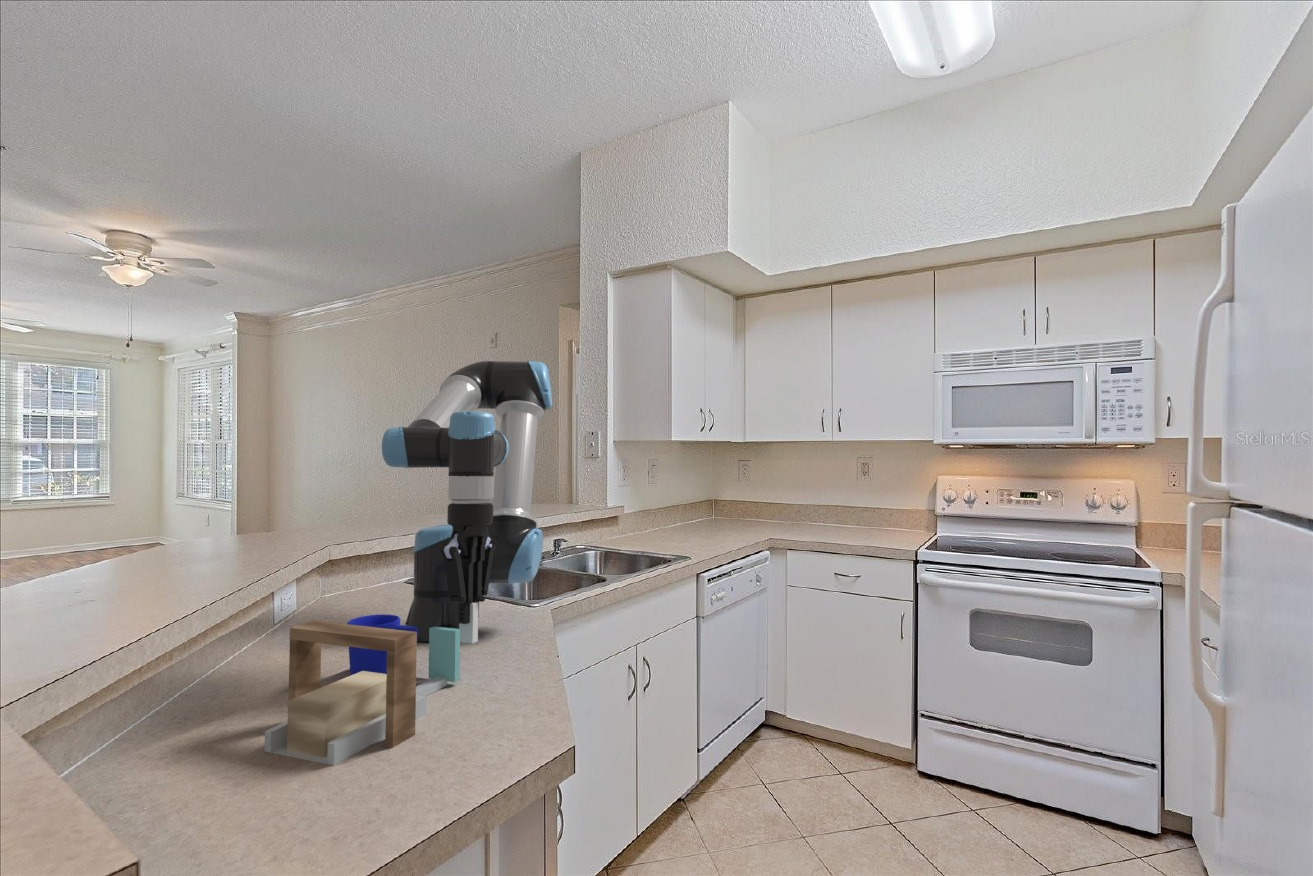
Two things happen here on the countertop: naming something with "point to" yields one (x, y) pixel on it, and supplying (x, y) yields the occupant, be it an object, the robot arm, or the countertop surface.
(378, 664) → the mug
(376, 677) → the bar
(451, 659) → the sled
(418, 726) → the countertop surface
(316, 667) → the tunnel
